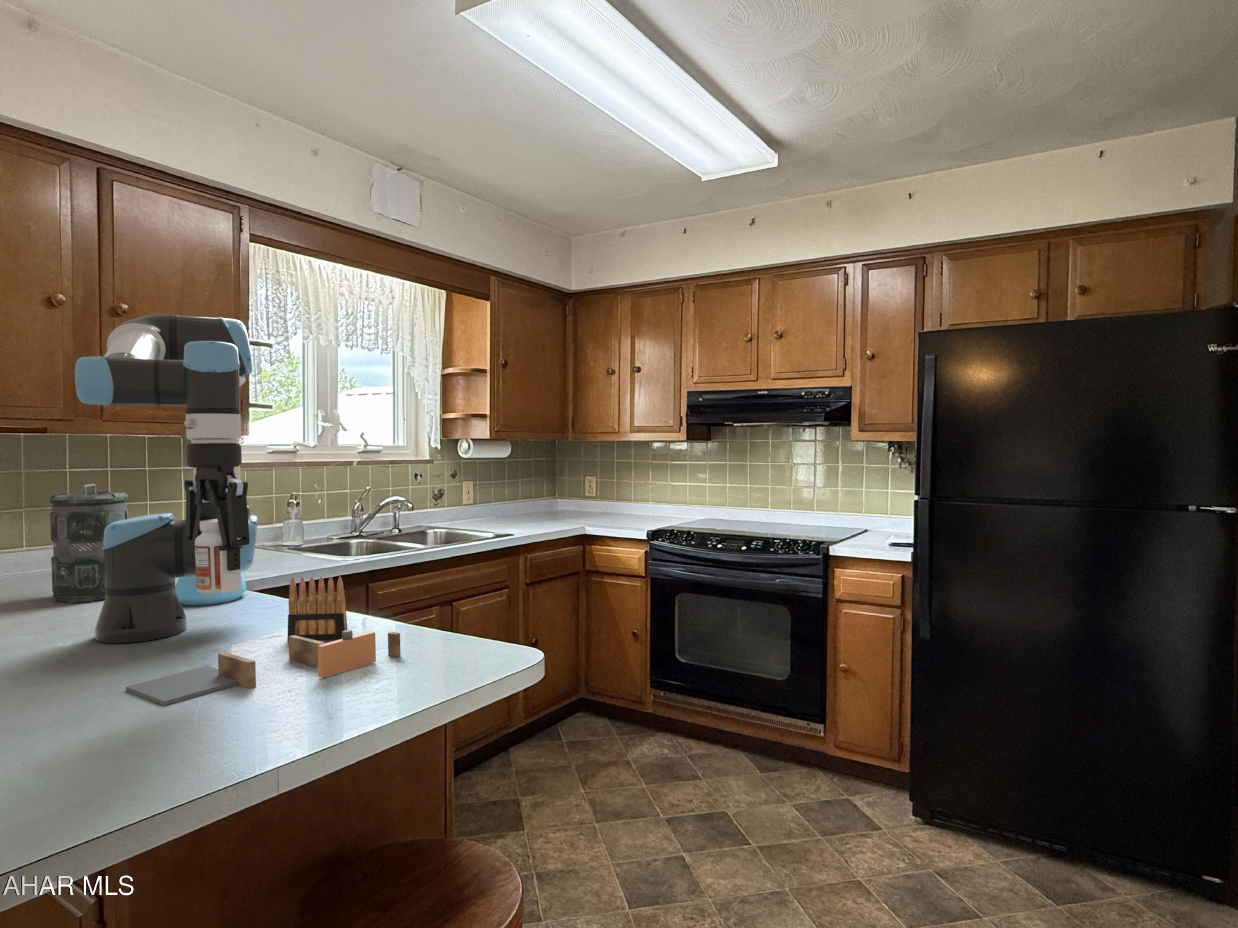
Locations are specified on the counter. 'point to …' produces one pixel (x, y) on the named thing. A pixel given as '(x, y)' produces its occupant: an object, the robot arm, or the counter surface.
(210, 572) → the pill bottle
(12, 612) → the counter surface
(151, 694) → the mat
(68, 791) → the counter surface
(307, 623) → the ammunition clip
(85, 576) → the canister
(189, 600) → the sugar bowl
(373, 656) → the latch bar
